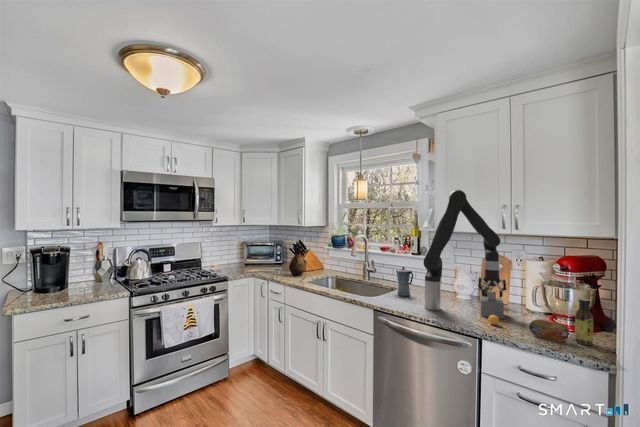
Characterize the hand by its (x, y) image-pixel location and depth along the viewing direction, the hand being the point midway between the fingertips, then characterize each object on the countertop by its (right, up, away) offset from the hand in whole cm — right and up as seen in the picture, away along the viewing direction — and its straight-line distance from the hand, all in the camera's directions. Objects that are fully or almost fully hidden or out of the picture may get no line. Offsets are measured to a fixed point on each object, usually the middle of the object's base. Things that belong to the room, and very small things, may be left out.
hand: (491, 296), depth 184 cm
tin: (+8, -11, -35) cm, 37 cm away
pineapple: (-122, -10, +114) cm, 167 cm away
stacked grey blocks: (0, -11, 0) cm, 11 cm away
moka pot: (-39, -11, +44) cm, 60 cm away
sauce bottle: (+20, -11, -40) cm, 46 cm away
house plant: (+9, -11, +20) cm, 25 cm away
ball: (-8, -8, -16) cm, 20 cm away
